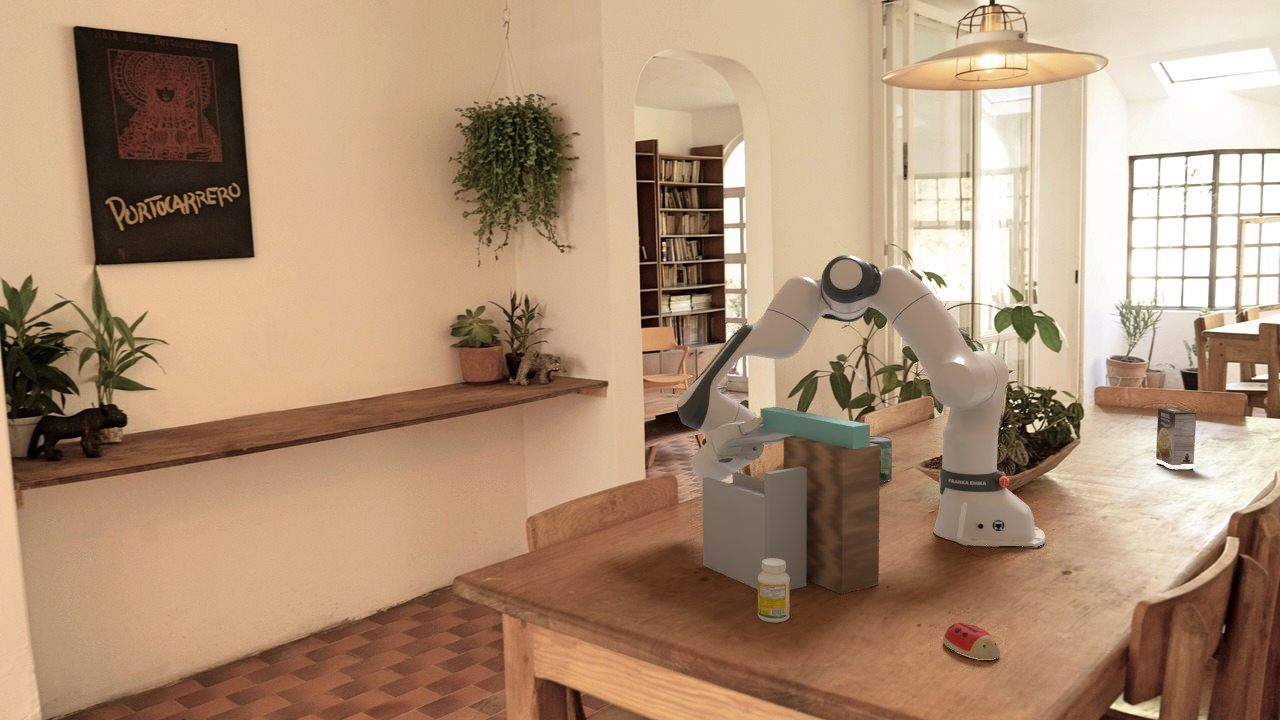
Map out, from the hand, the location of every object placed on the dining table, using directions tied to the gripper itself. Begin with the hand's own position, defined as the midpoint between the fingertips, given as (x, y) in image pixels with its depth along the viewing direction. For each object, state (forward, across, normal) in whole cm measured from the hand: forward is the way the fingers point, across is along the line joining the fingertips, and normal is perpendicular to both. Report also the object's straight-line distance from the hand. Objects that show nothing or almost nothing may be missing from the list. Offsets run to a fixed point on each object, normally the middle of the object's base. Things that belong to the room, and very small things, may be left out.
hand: (779, 417), depth 195 cm
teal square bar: (+7, 0, -7) cm, 10 cm away
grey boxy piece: (-9, +11, -27) cm, 31 cm away
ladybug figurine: (+30, +6, -51) cm, 60 cm away
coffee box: (-16, -142, -24) cm, 145 cm away
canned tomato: (-48, -66, -5) cm, 82 cm away
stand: (-2, 0, -32) cm, 32 cm away
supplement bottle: (+7, +22, -37) cm, 43 cm away
